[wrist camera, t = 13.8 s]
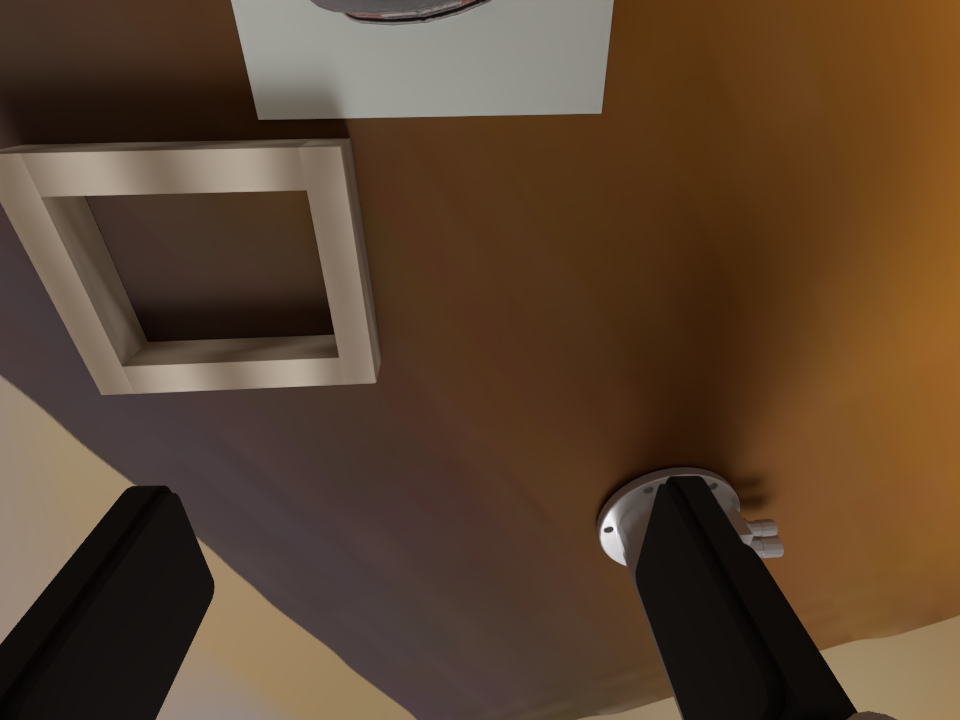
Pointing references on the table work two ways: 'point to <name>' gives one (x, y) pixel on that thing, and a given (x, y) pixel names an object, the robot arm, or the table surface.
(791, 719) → the robot arm
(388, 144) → the table surface
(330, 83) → the mat
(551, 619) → the table surface
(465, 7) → the lighter
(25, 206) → the slot holder
